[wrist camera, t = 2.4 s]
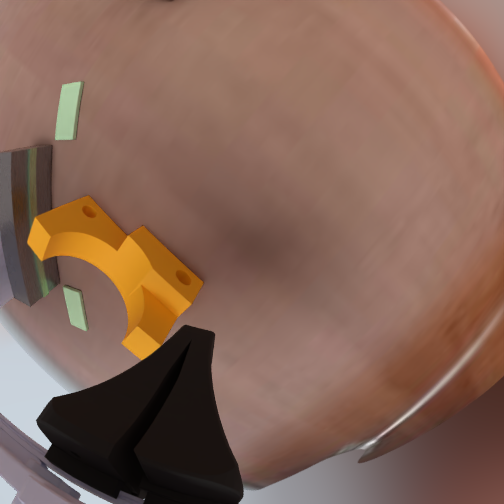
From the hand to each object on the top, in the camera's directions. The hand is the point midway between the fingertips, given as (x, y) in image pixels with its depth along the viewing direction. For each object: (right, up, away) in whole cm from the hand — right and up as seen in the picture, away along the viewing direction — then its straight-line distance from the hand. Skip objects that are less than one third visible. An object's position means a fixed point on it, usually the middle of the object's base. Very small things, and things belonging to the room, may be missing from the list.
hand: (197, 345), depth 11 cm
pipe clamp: (-7, +5, +10) cm, 13 cm away
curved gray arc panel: (-18, +7, +9) cm, 22 cm away
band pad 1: (-13, +16, +5) cm, 21 cm away
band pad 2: (-16, -2, +13) cm, 21 cm away
